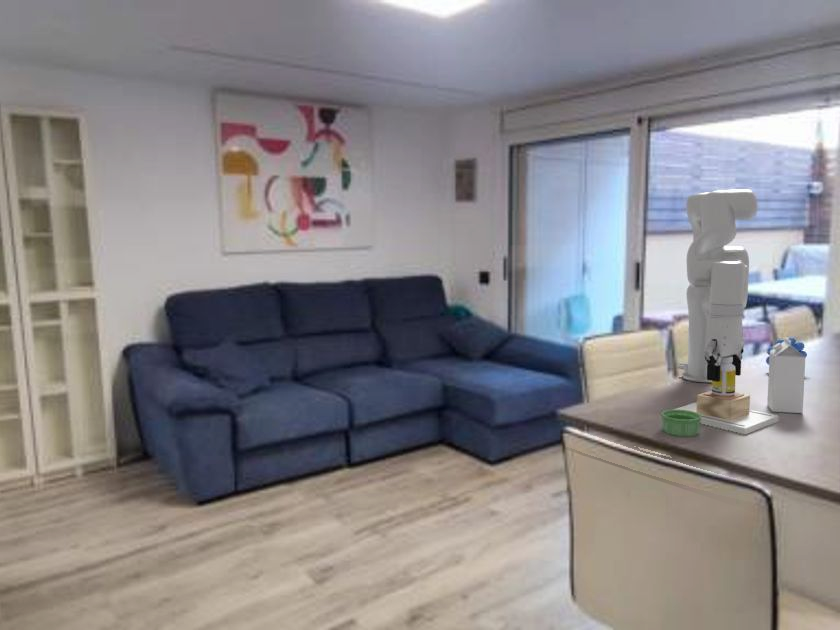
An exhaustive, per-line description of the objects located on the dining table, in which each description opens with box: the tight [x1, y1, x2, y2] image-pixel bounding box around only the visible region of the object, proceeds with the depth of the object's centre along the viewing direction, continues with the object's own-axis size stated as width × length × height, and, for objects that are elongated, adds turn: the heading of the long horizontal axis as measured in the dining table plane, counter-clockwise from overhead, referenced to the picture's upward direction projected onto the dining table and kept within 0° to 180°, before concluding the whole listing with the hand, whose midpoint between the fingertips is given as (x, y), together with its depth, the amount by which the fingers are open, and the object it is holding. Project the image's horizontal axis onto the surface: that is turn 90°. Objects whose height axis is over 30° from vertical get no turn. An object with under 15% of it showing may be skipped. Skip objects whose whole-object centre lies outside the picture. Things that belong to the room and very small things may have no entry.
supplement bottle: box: [711, 356, 736, 396], centre depth 162 cm, size 5×5×10 cm
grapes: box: [765, 337, 808, 366], centre depth 211 cm, size 12×7×12 cm, turn 60°
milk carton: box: [767, 336, 806, 414], centre depth 169 cm, size 7×7×19 cm
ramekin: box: [660, 408, 702, 437], centre depth 154 cm, size 9×9×4 cm
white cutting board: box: [675, 401, 779, 435], centre depth 163 cm, size 20×16×2 cm
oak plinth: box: [696, 389, 751, 420], centre depth 163 cm, size 9×9×5 cm
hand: (723, 377), depth 162 cm, fingers open, 9 cm apart
